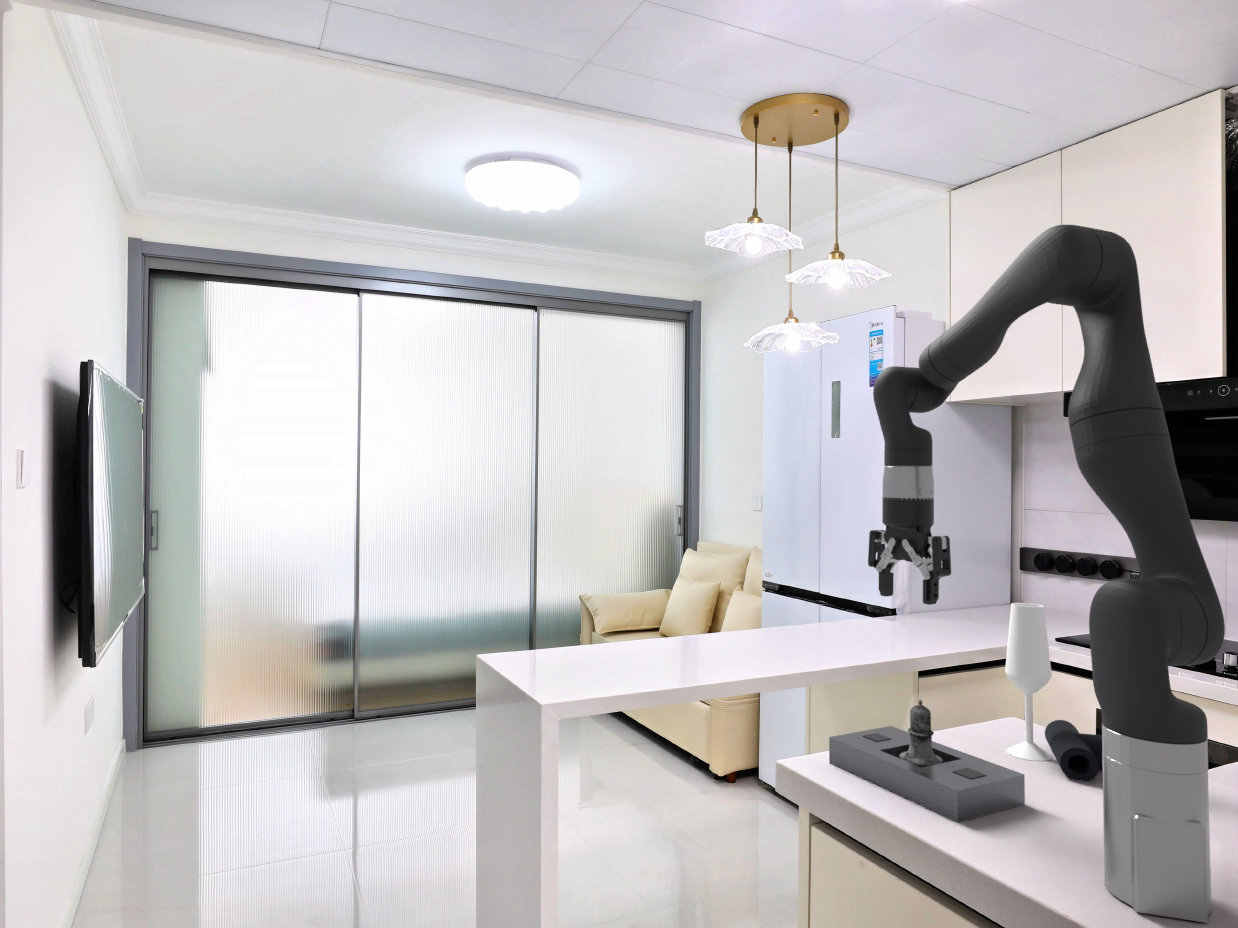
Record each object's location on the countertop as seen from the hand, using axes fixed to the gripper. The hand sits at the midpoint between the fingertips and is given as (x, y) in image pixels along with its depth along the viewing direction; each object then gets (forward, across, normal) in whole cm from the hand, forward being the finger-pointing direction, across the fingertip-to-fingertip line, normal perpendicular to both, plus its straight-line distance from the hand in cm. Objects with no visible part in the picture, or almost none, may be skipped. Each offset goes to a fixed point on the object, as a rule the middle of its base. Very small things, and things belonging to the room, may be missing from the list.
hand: (907, 599), depth 120 cm
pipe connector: (+26, -13, -26) cm, 39 cm away
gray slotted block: (+26, -6, +4) cm, 26 cm away
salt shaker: (+26, -6, +4) cm, 27 cm away
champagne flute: (+26, -5, -22) cm, 34 cm away
